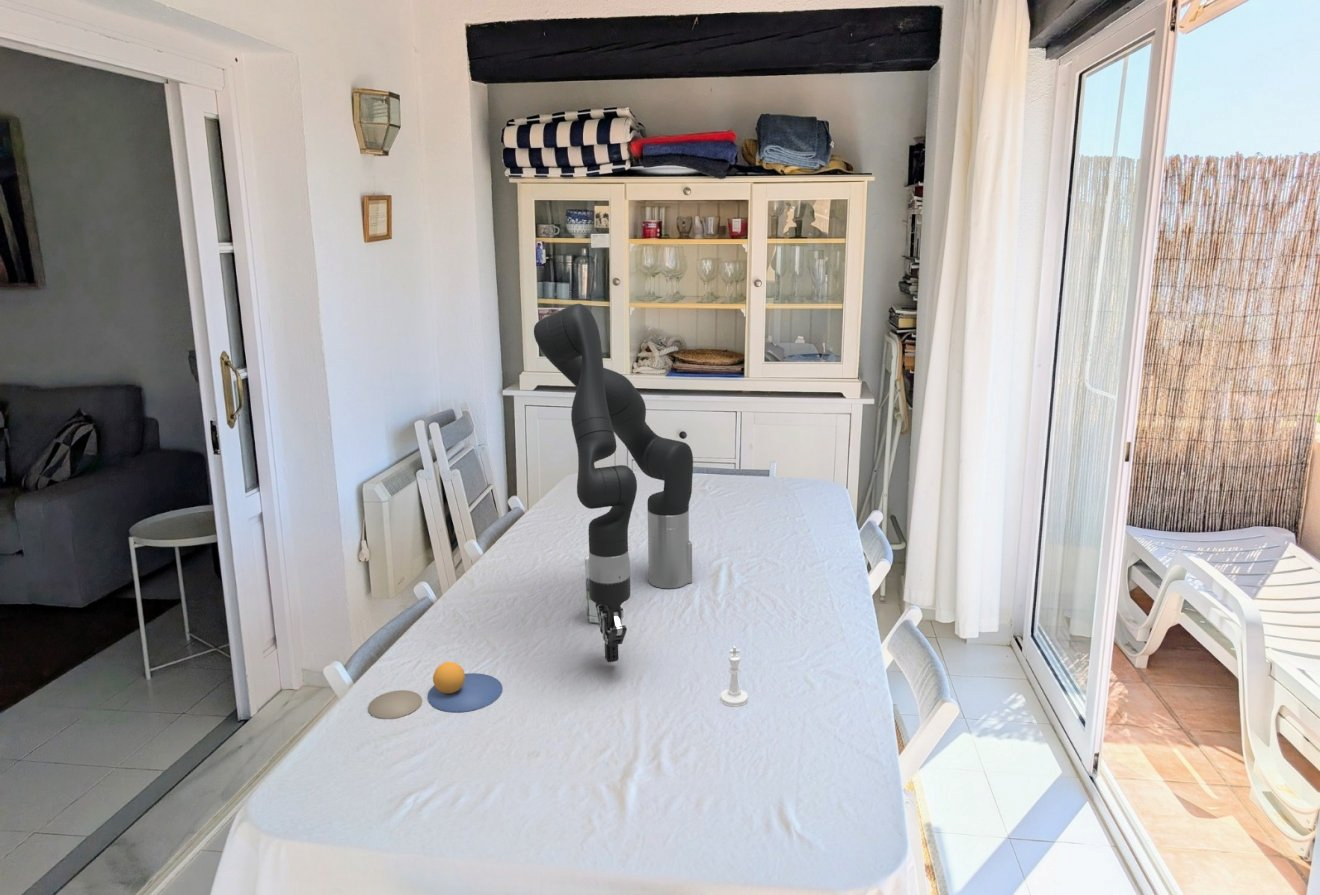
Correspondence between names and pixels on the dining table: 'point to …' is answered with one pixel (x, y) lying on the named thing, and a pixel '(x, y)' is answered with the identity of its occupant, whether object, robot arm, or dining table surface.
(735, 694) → the chess piece
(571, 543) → the dining table surface
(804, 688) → the dining table surface
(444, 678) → the ball
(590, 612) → the syrup box
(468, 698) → the disc
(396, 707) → the disc
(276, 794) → the dining table surface
